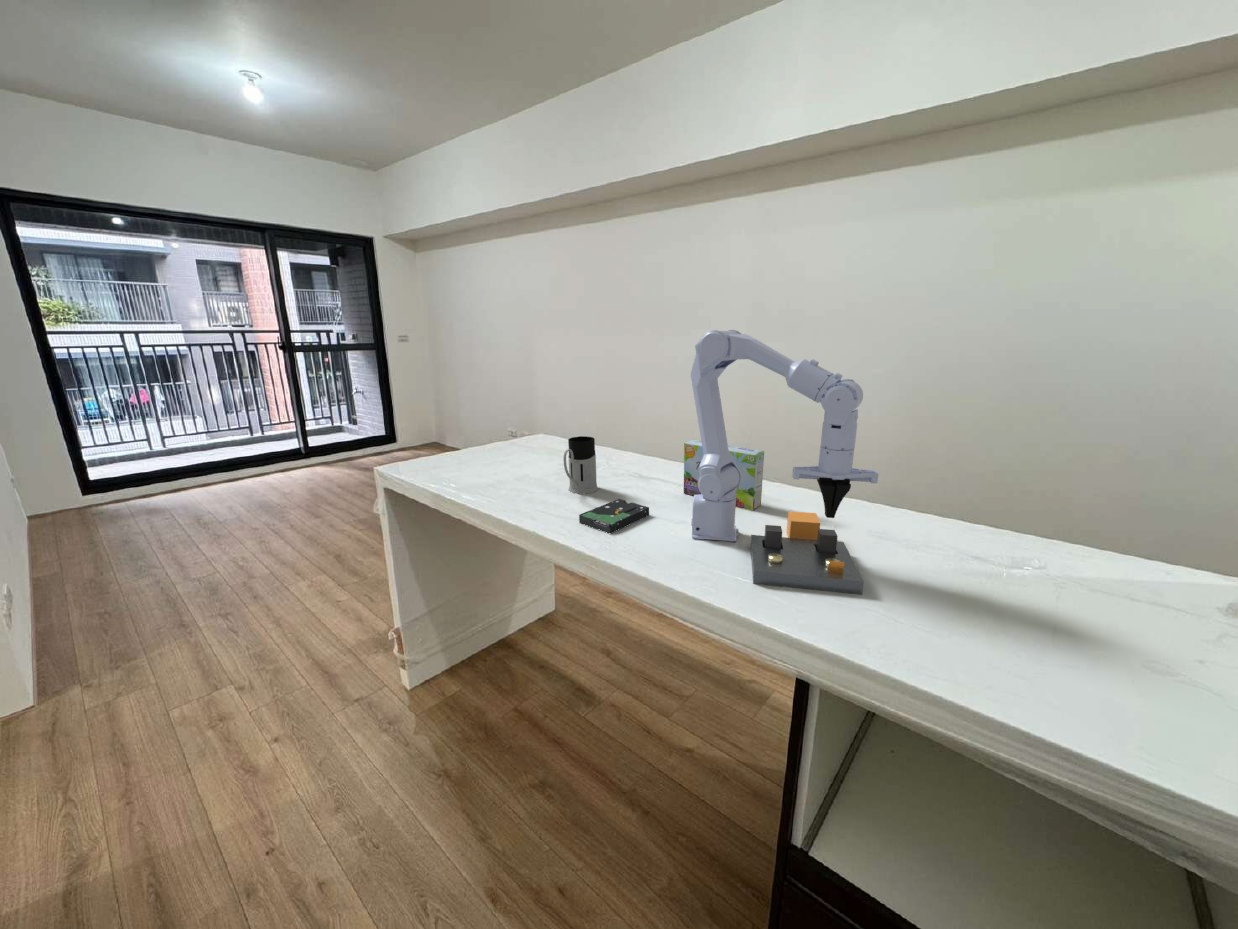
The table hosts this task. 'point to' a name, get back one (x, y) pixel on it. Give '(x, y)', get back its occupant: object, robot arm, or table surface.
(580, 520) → the disk drive
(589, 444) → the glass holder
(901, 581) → the table surface
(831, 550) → the dark grey block
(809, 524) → the cap
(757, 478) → the snack box
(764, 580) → the grey flat slab
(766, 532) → the block
